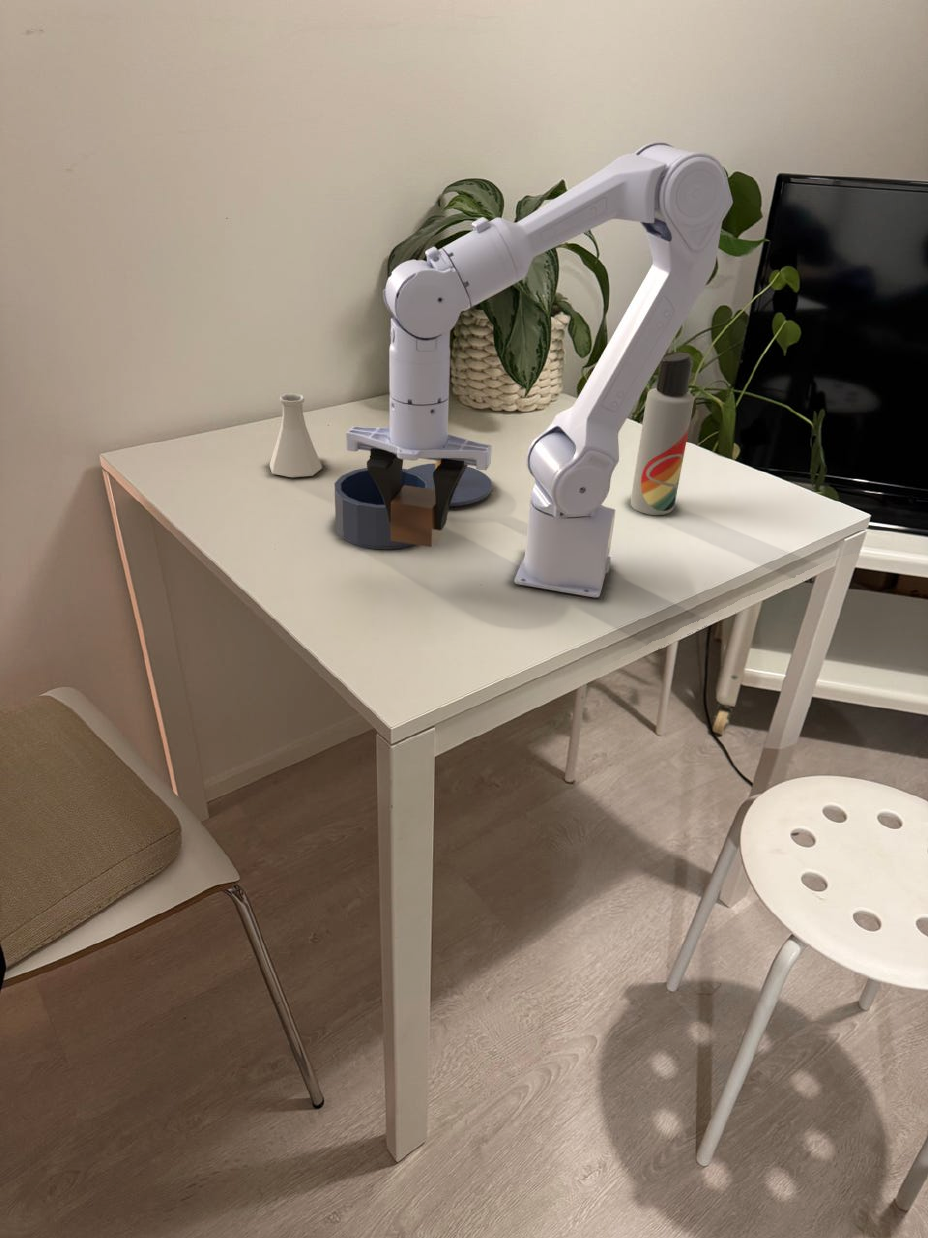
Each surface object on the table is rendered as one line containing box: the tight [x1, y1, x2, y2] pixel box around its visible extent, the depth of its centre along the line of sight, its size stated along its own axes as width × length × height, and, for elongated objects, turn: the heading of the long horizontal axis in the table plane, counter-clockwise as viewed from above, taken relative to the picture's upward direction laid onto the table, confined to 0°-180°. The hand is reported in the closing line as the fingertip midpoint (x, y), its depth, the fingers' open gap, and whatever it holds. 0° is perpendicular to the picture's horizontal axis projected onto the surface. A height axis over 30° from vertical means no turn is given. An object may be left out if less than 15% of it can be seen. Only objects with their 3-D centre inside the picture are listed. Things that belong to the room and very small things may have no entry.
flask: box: [269, 393, 323, 478], centre depth 121 cm, size 7×7×10 cm
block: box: [391, 485, 444, 548], centre depth 94 cm, size 4×4×4 cm
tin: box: [333, 467, 433, 550], centre depth 109 cm, size 12×12×5 cm
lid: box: [407, 460, 493, 507], centre depth 119 cm, size 13×13×5 cm
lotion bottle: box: [630, 352, 695, 516], centre depth 113 cm, size 6×6×20 cm
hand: (417, 522), depth 94 cm, fingers closed on block, 4 cm apart
